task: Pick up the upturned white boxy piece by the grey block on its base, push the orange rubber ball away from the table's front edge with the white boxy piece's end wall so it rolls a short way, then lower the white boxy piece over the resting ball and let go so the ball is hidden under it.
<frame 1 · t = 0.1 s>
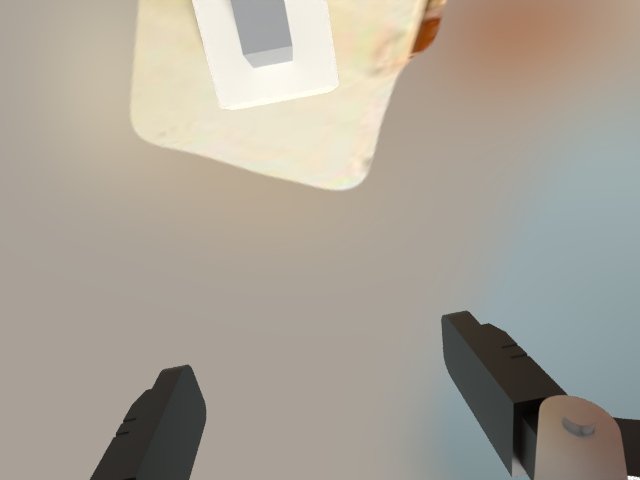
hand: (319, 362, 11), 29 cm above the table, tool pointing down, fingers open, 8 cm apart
white boxy piece: (273, 57, 34), on the table
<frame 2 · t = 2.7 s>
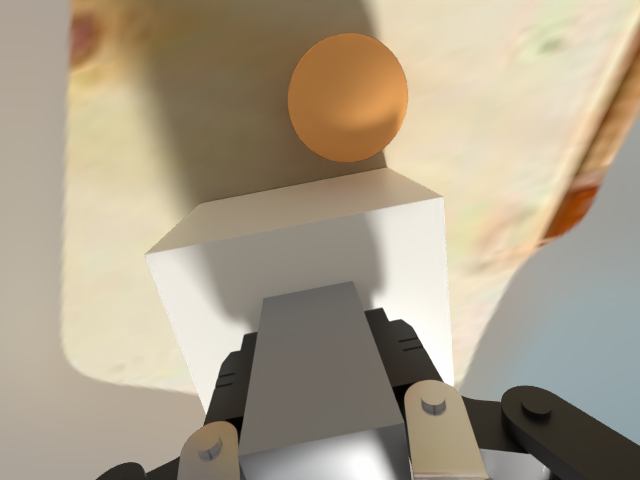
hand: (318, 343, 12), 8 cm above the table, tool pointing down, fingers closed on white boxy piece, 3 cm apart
ball: (347, 101, 15), on the table
white boxy piece: (308, 254, 19), on the table, touching gripper
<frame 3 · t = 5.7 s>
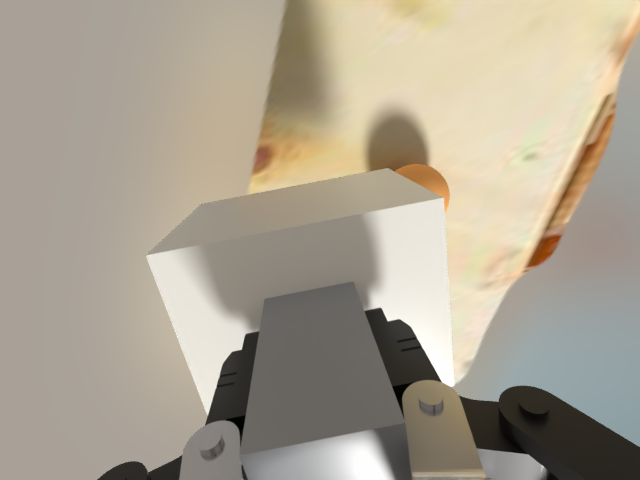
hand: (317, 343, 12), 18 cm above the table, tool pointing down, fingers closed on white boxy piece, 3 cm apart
ball: (414, 197, 26), on the table
white boxy piece: (308, 254, 19), point 9 cm above the table, touching gripper
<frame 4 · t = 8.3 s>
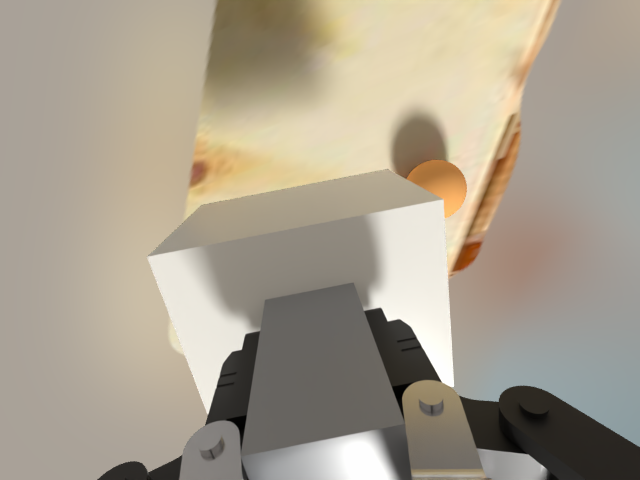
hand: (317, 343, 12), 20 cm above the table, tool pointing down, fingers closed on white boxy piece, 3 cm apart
ball: (434, 190, 29), on the table
white boxy piece: (309, 255, 20), point 12 cm above the table, touching gripper
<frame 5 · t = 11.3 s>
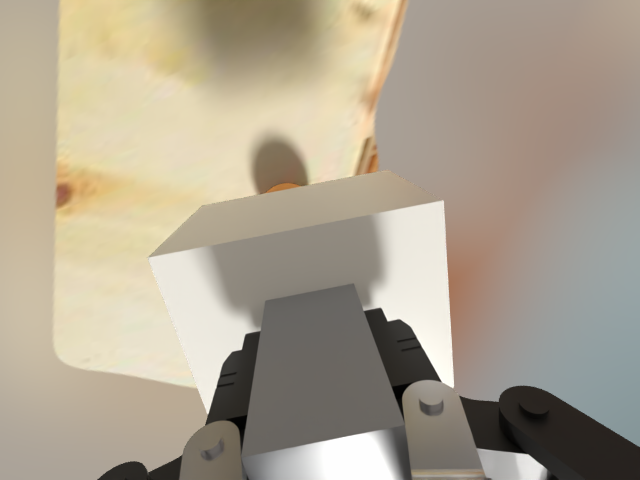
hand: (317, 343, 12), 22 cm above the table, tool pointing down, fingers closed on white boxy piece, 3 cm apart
white boxy piece: (309, 256, 20), point 14 cm above the table, touching gripper
when the fingers open (9 cm above the table, at t = 13.9 s): white boxy piece stays where it is, on the table.
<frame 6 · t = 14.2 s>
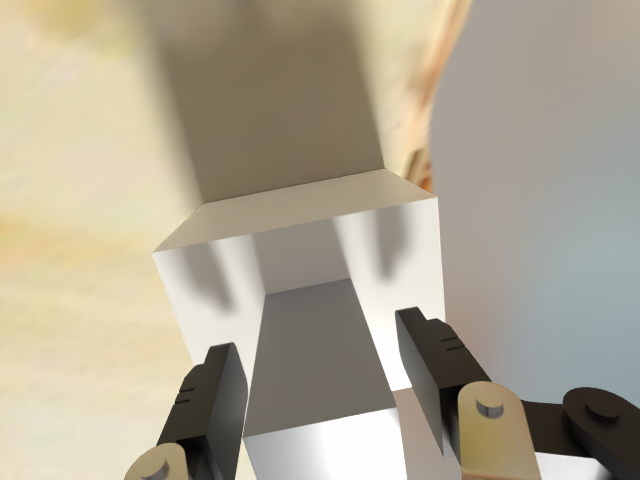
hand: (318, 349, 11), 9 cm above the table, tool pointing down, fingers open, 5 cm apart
white boxy piece: (308, 253, 20), on the table
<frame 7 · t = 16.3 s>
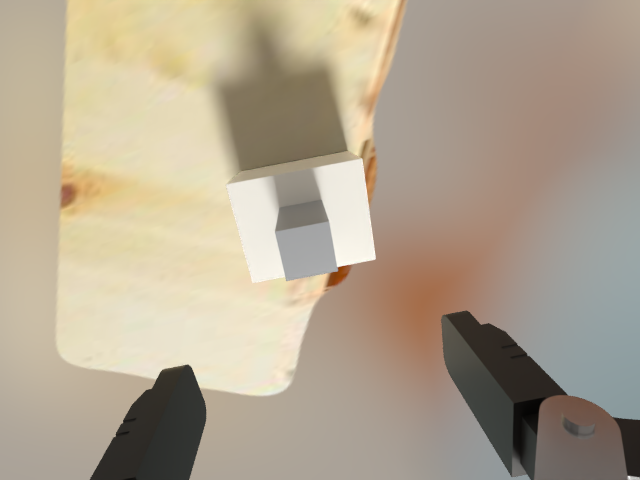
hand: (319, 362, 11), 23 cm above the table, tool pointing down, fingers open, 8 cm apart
white boxy piece: (302, 203, 33), on the table
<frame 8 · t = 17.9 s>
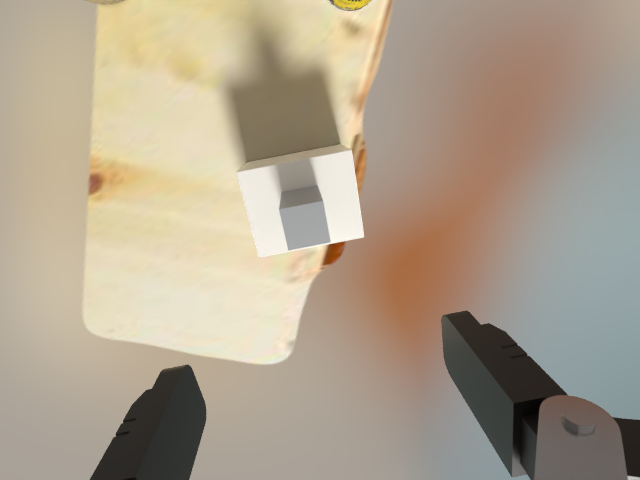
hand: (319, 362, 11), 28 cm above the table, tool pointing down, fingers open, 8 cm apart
white boxy piece: (301, 190, 37), on the table
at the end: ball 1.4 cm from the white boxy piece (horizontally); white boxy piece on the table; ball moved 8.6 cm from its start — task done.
